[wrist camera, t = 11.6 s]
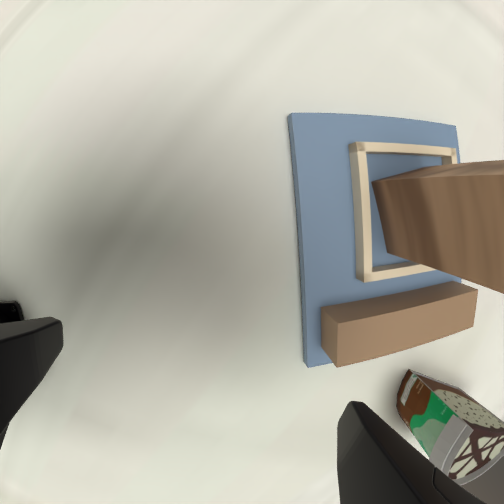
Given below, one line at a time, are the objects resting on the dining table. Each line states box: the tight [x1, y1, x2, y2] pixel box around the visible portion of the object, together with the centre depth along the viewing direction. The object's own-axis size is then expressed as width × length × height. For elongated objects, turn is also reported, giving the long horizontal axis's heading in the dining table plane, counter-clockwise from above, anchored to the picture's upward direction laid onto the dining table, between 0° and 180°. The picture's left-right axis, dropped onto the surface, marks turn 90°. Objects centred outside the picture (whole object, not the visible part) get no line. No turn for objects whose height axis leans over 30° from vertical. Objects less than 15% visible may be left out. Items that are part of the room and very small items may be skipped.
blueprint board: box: [288, 113, 478, 368], centre depth 19 cm, size 14×17×4 cm
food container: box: [397, 369, 504, 485], centre depth 20 cm, size 12×6×10 cm, turn 62°
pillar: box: [371, 160, 504, 294], centre depth 14 cm, size 5×5×12 cm
